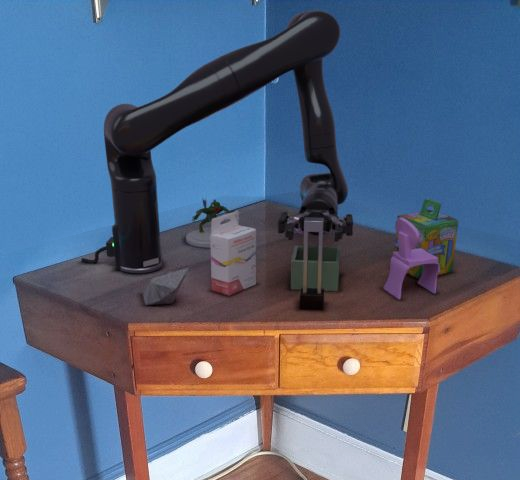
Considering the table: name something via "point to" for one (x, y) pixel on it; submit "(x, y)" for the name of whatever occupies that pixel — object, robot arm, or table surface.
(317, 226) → the tall two-post stand
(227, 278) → the ink cartridge box
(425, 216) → the chalk box
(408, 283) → the table surface
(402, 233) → the toy chair
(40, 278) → the table surface
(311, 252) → the holder
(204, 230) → the monster figurine
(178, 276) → the grey faceted pointed rock
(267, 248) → the table surface
